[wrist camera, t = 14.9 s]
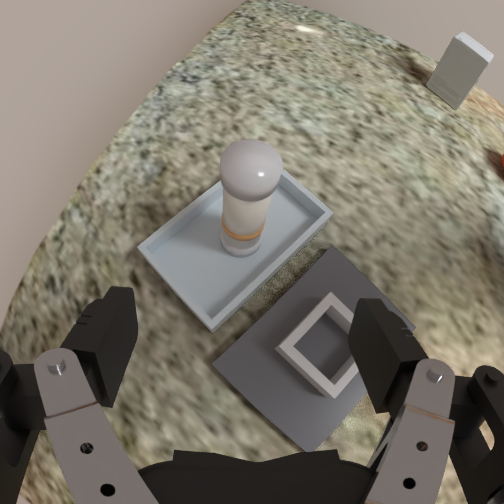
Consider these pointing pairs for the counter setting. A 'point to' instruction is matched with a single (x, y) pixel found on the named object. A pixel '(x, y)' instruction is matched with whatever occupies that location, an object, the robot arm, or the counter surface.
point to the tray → (219, 261)
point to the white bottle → (247, 194)
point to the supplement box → (459, 69)
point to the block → (305, 352)
